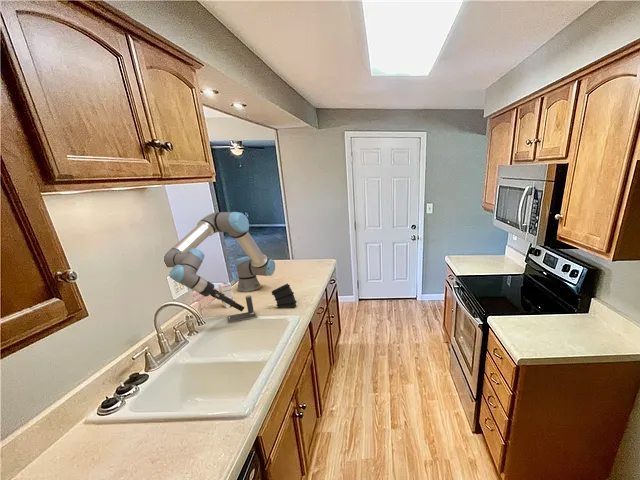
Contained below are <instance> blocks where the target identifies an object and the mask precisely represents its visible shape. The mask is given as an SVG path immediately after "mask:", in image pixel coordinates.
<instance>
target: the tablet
mask: <svg viewBox="0 0 640 480" xmlns="http://www.w3.org/2000/svg"><path fill="white" fill-rule="evenodd" d="M229 317H230V318H229ZM227 318H228V322H229V323H230V324H231V323H236V322H242V321H246V320H253V319H257V314H256V312H255V311H254V314H253V315H249V314H248V311H246V312H241V313H235V314H229V315H228V316H227Z"/></svg>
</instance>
